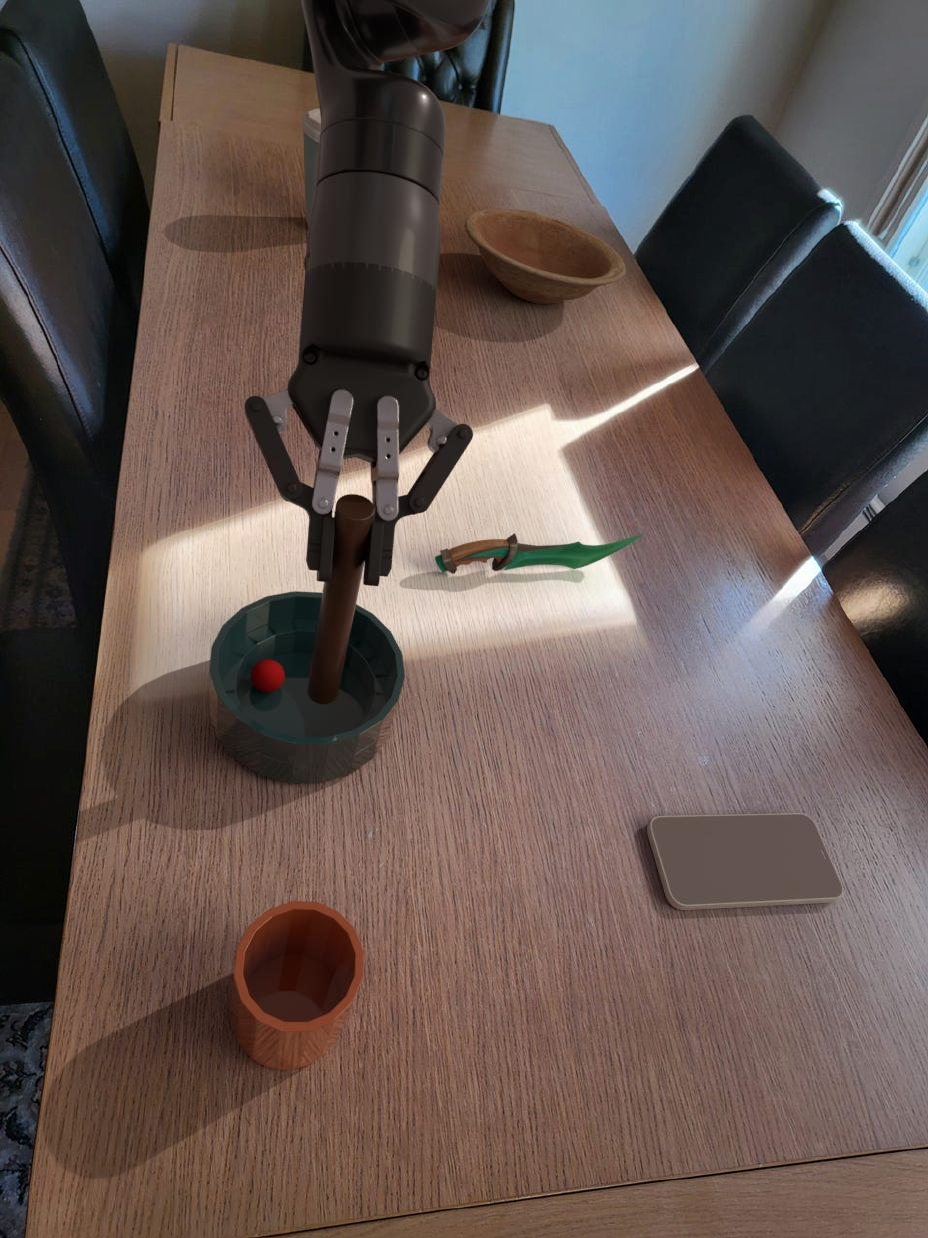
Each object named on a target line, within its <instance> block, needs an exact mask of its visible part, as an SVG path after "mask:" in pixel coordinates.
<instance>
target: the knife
mask: <svg viewBox="0 0 928 1238" xmlns="http://www.w3.org/2000/svg"><path fill="white" fill-rule="evenodd" d="M645 534H646V533H645V532H644V533H640V534H638V535H635V536H631V537H628V538H624V539H621V540H617V541H614V542H609V543H603V544H596V545H594V544H593V545H592V544H583V543H581V542H580V541H576V542H570V543H565V544H549V545H535V544H527V543H520V542H519V540H518V537H517V535H516V533H512V534H511V535H509V536H508V537H507V538H506V539H505V538H504V539H503V538H495V539H494V538H492V539H491V538H488V539H480V540H475V541H469V542H466V543H462V544H460V545H457V546H454V547H451V548H450V549H449V548H445V549H440V550H439V553H440V554H438V555H436V556H435V557H434V560H435V565H437V567H438V569H439V570H440V571H441V573H444V574H445V573H446V572H449V573H450V574H453V575H455V574H456V573H457V571H458V567H460V566H469V565H470V564H472V563H474V562H475V563H476V562H480V563H484V564H486V563H487V562H488V561H489V560H490V559H492V562H491V570H492V571H494V572H498V571H501V570H503V571H509V570H514V569H518V568H523V567H533V566H563V567H568V568H570V569H573V570H578V569H581V568H583V567H587V566H589V565H592V564H595V563H596V562H599V561H601V560H603V559H605V558H607V557H609V556H611V555H613V554H615V553H617V552H619V551H620V550H622V549H624V548H626V547H627V546H629V545H630V544H632V543H634V542H635V541H637V540H638V539H640V538H641V537H642V536H644V535H645Z"/></svg>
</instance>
